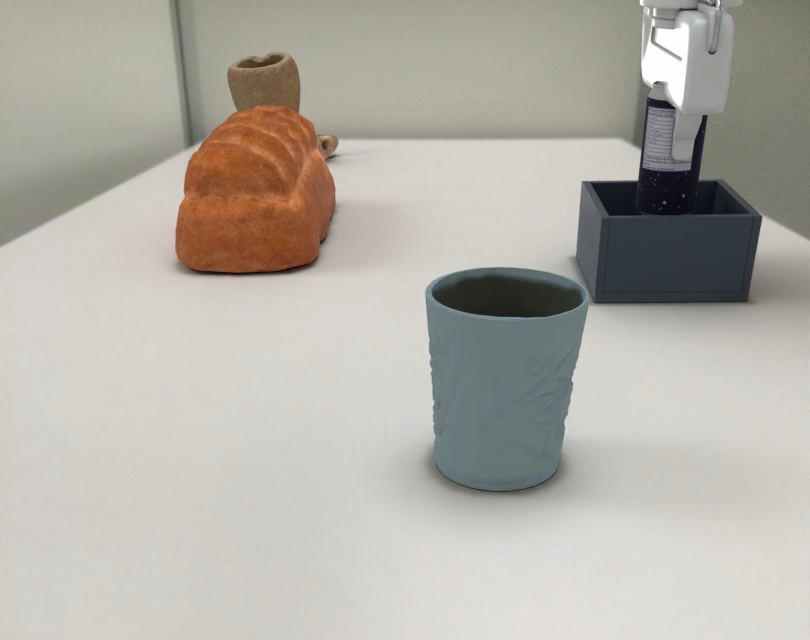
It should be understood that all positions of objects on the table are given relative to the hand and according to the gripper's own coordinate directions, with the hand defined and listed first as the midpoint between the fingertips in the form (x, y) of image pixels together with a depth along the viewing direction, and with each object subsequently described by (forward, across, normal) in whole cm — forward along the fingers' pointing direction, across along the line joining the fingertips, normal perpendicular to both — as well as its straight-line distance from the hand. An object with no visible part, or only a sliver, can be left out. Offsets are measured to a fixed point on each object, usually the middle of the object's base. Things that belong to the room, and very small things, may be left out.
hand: (672, 150), depth 92 cm
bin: (+12, 0, 0) cm, 12 cm away
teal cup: (+12, -39, +18) cm, 45 cm away
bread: (+12, +18, +43) cm, 48 cm away
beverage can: (+6, 0, 0) cm, 6 cm away
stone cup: (+12, +58, +46) cm, 75 cm away
